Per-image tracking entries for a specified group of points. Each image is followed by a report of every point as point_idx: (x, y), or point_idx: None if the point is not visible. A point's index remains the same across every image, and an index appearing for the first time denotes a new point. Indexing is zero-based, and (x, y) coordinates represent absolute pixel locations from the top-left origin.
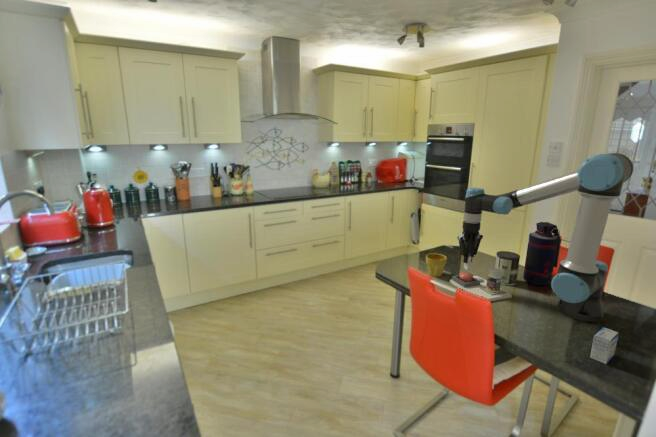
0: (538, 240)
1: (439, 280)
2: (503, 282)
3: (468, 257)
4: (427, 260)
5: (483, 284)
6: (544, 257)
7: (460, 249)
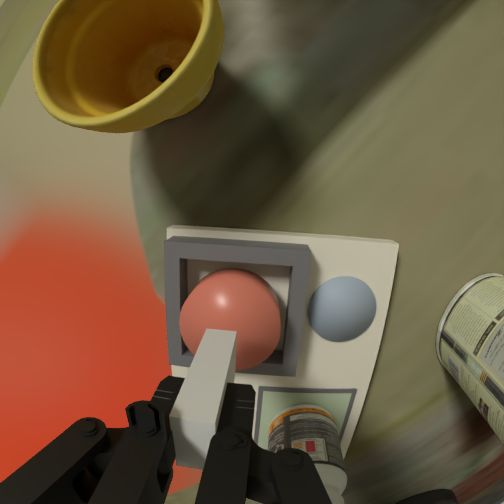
0: None
1: (131, 174)
2: (443, 363)
3: (176, 458)
4: (46, 55)
5: (320, 364)
6: None
7: (32, 472)
